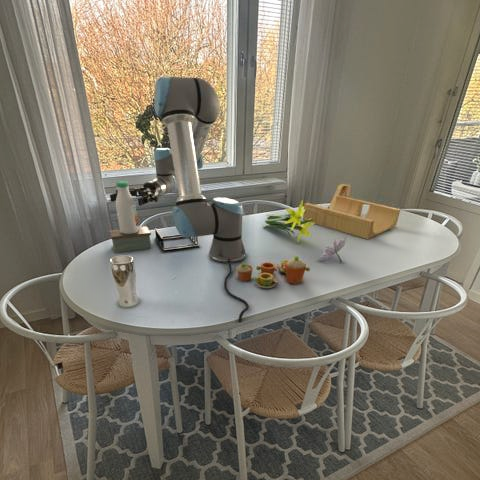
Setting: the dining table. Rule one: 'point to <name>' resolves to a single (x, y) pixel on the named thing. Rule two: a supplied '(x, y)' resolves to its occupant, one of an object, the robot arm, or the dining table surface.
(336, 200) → the skate ramp
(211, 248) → the robot arm
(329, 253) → the water lily
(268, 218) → the daffodil flowers
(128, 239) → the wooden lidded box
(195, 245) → the dish rack
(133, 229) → the milk bottle
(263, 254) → the dining table surface
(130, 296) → the beer glass
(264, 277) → the toy tea set
